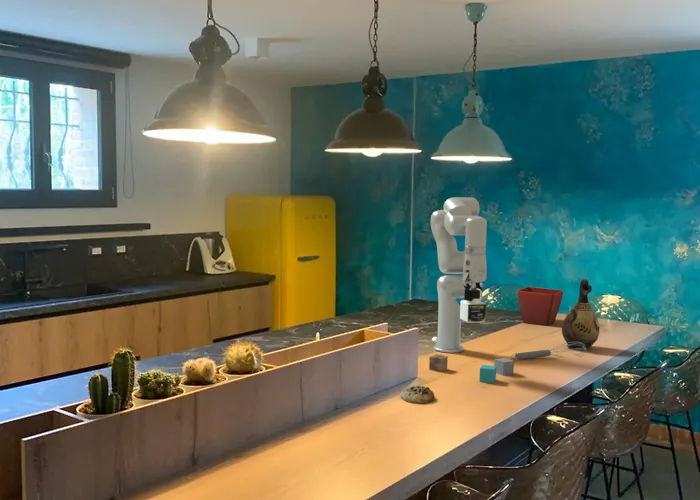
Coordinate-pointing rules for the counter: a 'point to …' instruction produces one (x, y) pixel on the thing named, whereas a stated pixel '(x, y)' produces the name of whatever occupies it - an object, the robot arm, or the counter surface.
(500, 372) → the slate grey block
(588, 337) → the ceramic jug
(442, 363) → the walnut block
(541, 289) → the plant pot
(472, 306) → the medicine bottle
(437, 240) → the robot arm
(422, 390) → the bread roll
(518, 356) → the kitchen whisk
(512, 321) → the counter surface
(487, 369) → the deep teal block
